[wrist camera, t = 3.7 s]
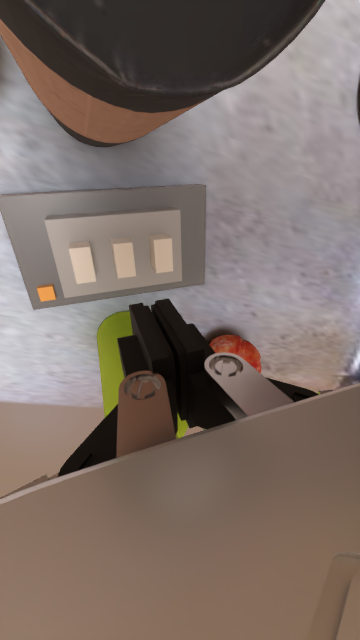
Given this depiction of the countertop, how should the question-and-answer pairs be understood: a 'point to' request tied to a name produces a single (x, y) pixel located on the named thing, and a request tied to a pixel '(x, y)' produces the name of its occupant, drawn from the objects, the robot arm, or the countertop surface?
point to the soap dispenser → (117, 361)
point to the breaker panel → (99, 199)
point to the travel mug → (142, 56)
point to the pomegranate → (237, 349)
